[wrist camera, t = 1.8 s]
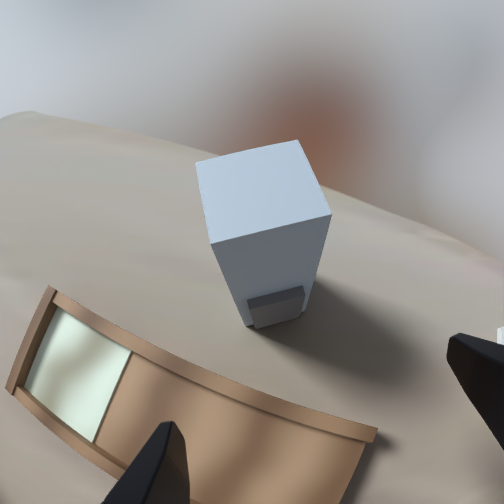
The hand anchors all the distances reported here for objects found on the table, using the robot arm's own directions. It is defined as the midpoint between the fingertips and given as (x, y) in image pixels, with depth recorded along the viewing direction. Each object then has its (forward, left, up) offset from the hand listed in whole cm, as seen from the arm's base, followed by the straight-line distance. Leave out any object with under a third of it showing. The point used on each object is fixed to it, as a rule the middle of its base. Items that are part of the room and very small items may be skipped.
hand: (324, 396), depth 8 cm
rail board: (+8, +6, -13) cm, 16 cm away
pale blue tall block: (+5, -6, -13) cm, 15 cm away
